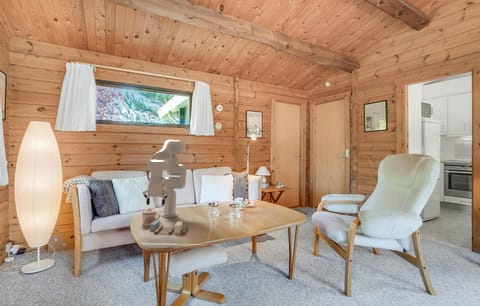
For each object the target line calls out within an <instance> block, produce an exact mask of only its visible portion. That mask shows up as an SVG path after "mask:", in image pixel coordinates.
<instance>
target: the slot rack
mask: <svg viewBox="0 0 480 306" xmlns="http://www.w3.org/2000/svg"><path fill="white" fill-rule="evenodd" d="M188 230H189V225H185V227H183V229H182V231H181V232H180V234H178V233H174V225H173V226H172V227H164V225H162V224H161V225H160V226H159V227H158V228H157V229H156V230H154V233H153V235H160V236H161V235H162V236H165V235H166V236H167V235H168V236H169V235H171V236H185V235H186V233H187V232H188Z"/></svg>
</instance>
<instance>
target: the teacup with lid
mask: <svg viewBox="0 0 480 306" xmlns="http://www.w3.org/2000/svg"><path fill="white" fill-rule="evenodd" d="M156 215H158V218H156V217H157V216H156ZM160 217H161V214H160V213H158V212H157V211H156V210H155V209H152V208H151V207H148V208H147V209H145V210H143V211H142V225H143V226H144V227H150V224H151V223H152V222H154V221H155V220H158V221H159V219H160Z"/></svg>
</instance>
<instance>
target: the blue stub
mask: <svg viewBox="0 0 480 306" xmlns="http://www.w3.org/2000/svg"><path fill="white" fill-rule="evenodd" d="M160 224H161V220H159V219H158V220H155V221H154V222H152V223H151V224H150V226H149V231H156V230H157V229H158V227H159V226H160Z"/></svg>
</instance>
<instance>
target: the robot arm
mask: <svg viewBox="0 0 480 306" xmlns="http://www.w3.org/2000/svg"><path fill="white" fill-rule="evenodd" d="M186 151H187V145H186V143H184V142H183V141H181V140H177V139H176V140H175V139H168V140H166V141H164V144H163V145H162V148H161V149H160V150H159V151H157V152H155V153H154V154H152V155H151V156H150V157H149V159H148V162H147V169H148V170H149V171H150V181H149V182H148V187H147V190H144V191H143V192H142V195H143V197H144V198H145V199H146V201H145V202H146V206H149V205H150V203H151V202H150V201H151V197H154V198H155V197H158V198H159V197H160V198H161V206H163V212H162V213H161V214H160V217H163V218H174V217H177V216H178V213H177V207H176V206H177V192H176V191H175V189H176V190H177V189H178V190H182V189H184V188H185V187H186V180H187V165H185V164H181V163H180V164H179V157H178V155H177V154H185V152H186ZM163 172H166V174H167V175H168V176H167V177H163Z"/></svg>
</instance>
